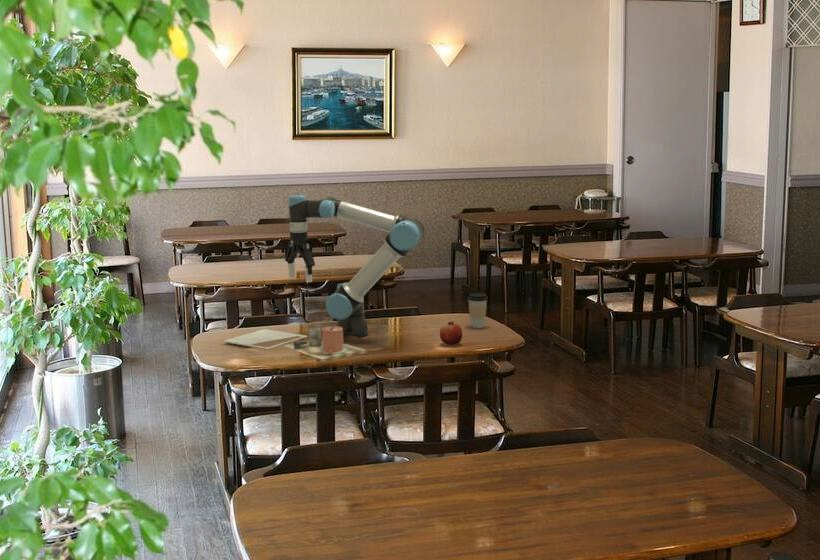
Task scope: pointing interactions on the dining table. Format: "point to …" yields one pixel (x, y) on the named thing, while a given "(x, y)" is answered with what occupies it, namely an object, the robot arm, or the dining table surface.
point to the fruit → (451, 333)
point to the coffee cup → (477, 309)
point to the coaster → (335, 352)
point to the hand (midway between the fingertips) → (300, 280)
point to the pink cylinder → (332, 339)
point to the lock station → (321, 347)
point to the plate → (262, 338)
